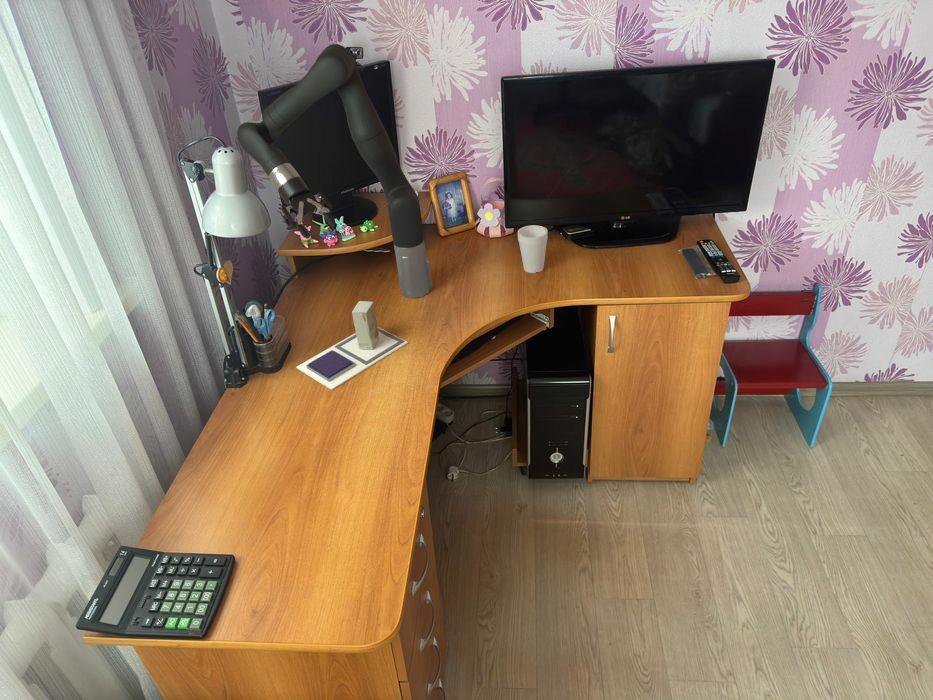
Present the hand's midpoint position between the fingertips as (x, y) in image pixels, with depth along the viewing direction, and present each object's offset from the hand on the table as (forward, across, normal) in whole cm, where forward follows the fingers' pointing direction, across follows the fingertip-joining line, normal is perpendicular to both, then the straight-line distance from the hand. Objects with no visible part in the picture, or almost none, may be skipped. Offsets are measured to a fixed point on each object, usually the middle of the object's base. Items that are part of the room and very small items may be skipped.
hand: (321, 231), depth 195 cm
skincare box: (+33, -4, +7) cm, 34 cm away
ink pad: (+34, -18, +7) cm, 38 cm away
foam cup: (+40, +58, +1) cm, 70 cm away
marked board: (+34, -10, +7) cm, 36 cm away
